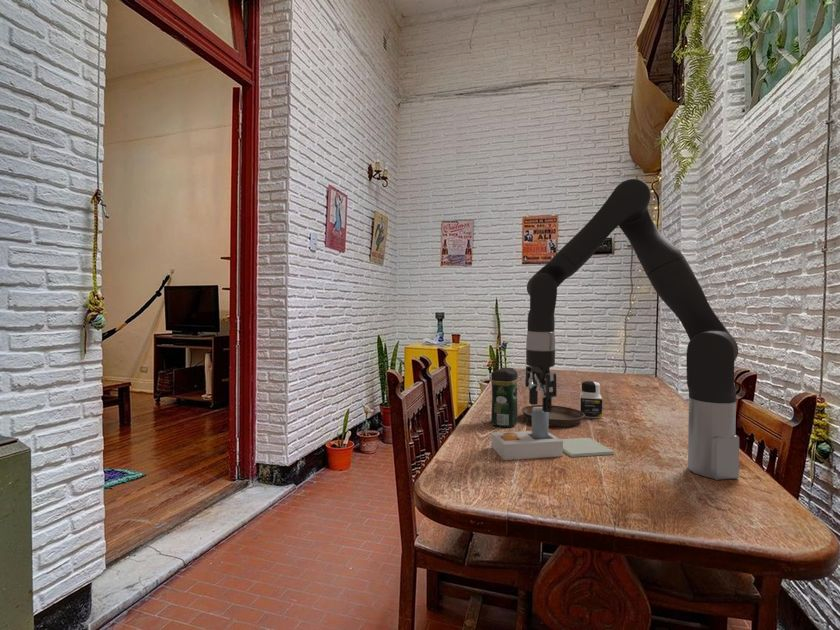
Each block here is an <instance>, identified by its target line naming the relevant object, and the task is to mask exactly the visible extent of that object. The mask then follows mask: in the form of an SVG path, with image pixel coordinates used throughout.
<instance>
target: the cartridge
mask: <svg viewBox="0 0 840 630" xmlns="http://www.w3.org/2000/svg"><path fill="white" fill-rule="evenodd" d="M549 429H550V428H549V412H544V411H542V407H533V409H532V421H531V431H532V438H533V439H535V440H539V439H549V433H550V431H549Z"/></svg>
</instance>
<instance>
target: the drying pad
mask: <svg viewBox="0 0 840 630" xmlns="http://www.w3.org/2000/svg"><path fill="white" fill-rule="evenodd" d="M559 439H560V438H559ZM560 440H562V441H563V453H565V454H567V455H568V456H569V457H571V458H581V457H591V456H592V457H594V456H608V455H609V456H610V455H615V451H614V450H613V449H611V448H609V447H607V446H605V445H603V444H602V443H599V442H597V441H596V440H594V439H593V438H591V437H578V438H577V437H575V438H561V439H560Z"/></svg>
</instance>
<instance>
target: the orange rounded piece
mask: <svg viewBox="0 0 840 630" xmlns="http://www.w3.org/2000/svg"><path fill="white" fill-rule="evenodd" d="M503 439H504V440H505V441H511V440H517V434H515V433H504V434H503Z"/></svg>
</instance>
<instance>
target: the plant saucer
mask: <svg viewBox="0 0 840 630" xmlns="http://www.w3.org/2000/svg"><path fill="white" fill-rule="evenodd" d="M533 407H542V404H535V405H528V406H524V407H522V408H520V409H521V412H522V414H523V415H524V417H525V418H526V419H527V420H528V421H530V422H532V409H533ZM584 416H585V414H584V413H583V412H581V411H579V410H578V409H576V408H572V407H567V406H563V405H562V406H561V405H551V412H549V426H550V427H570V426H575V425H577V424H579V423H580V422H581V421H582V420H583V419H584V418H585V417H584Z"/></svg>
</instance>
